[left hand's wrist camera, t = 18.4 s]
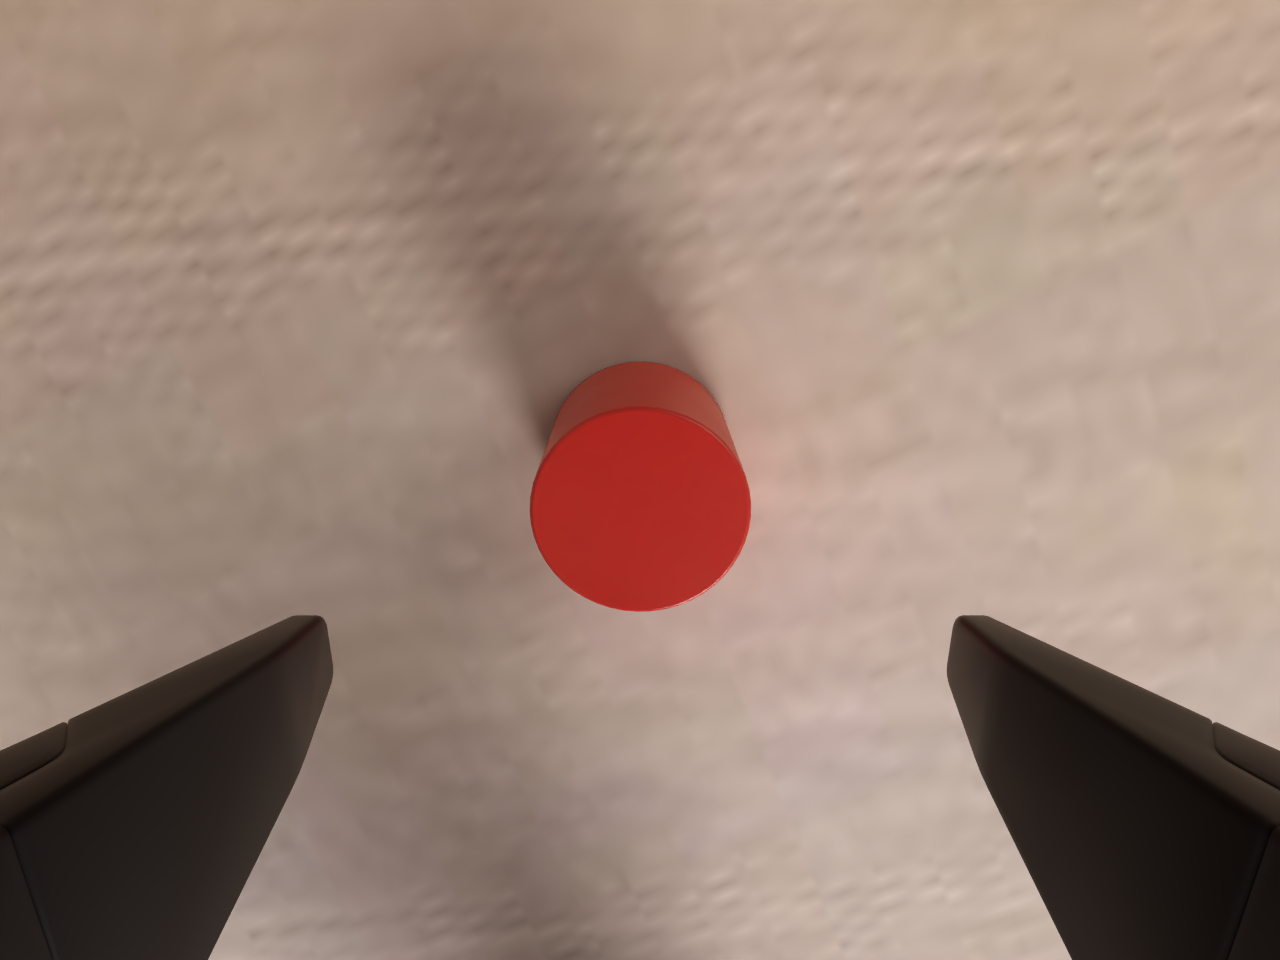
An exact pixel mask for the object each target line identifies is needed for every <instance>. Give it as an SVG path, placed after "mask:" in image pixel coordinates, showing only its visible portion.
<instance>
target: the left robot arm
mask: <svg viewBox="0 0 1280 960" xmlns="http://www.w3.org/2000/svg"><path fill="white" fill-rule="evenodd" d="M947 677H948V682H949V686H950V688H951V691H952V694H953V697H954V700H955V703H956V705H957V708H958V711H959V714H960V717H961V720H962V722H963V725H964V728H965V731H966V734H967V737H968V739H969V742H970V745H971V748H972V751H973V754H974V756H975V759H976V762H977V764H978V767H979V770H980V772H981V774H982V777H983V779H984V781H985V783H986V785H987V787H988V790H989V792H990V794H991V796H992V798H993V800H994V802H995V804H996V806H997V808H998V810H999V812H1000V814H1001V816H1002V818H1003V820H1004V822H1005V824H1006V826H1007V828H1008V830H1009V832H1010V834H1011V836H1012V838H1013V840H1014V842H1015V844H1016V846H1017V849H1018V851H1019V853H1020V855H1021V857H1022V859H1023V861H1024V863H1025V865H1026V867H1027V869H1028V871H1029V873H1030V875H1031V877H1032V879H1033V881H1034V883H1035V885H1036V887H1037V889H1038V891H1039V893H1040V895H1041V897H1042V899H1043V901H1044V903H1045V905H1046V908H1047V910H1048V912H1049V914H1050V916H1051V918H1052V920H1053V922H1054V924H1055V926H1056V928H1057V930H1058V932H1059V934H1060V936H1061V938H1062V940H1063V942H1064V944H1065V946H1066V948H1067V950H1068V952H1069V954H1070V956H1071V958H1072V960H1280V751H1279V750H1277V749H1275V748H1272V747H1270V746H1268V745H1266V744H1263V743H1261V742H1259V741H1257V740H1254V739H1252V738H1250V737H1248V736H1246V735H1243V734H1241V733H1239V732H1237V731H1235V730H1233V729H1230V728H1228V727H1226V726H1224V725H1222V724H1220V723H1217V722H1215V723H1213V724H1212V721H1211V720H1210V719H1209V718H1206V717H1204V716H1202V715H1200V714H1198V713H1196V712H1193V711H1191V710H1189V709H1187V708H1185V707H1183V706H1181V705H1178V704H1176V703H1174V702H1172V701H1170V700H1168V699H1165V698H1163V697H1161V696H1159V695H1157V694H1155V693H1152V692H1150V691H1148V690H1146V689H1144V688H1142V687H1140V686H1137V685H1135V684H1133V683H1131V682H1129V681H1127V680H1124V679H1122V678H1120V677H1118V676H1116V675H1114V674H1112V673H1109V672H1107V671H1105V670H1103V669H1101V668H1099V667H1096V666H1094V665H1092V664H1090V663H1088V662H1086V661H1083V660H1081V659H1079V658H1077V657H1075V656H1073V655H1071V654H1068V653H1066V652H1064V651H1062V650H1060V649H1058V648H1055V647H1053V646H1051V645H1049V644H1047V643H1045V642H1042V641H1040V640H1038V639H1036V638H1034V637H1032V636H1030V635H1027V634H1025V633H1023V632H1021V631H1019V630H1017V629H1014V628H1012V627H1010V626H1008V625H1006V624H1004V623H1001V622H999V621H997V620H995V619H993V618H991V617H988V616H983V615H963V616H959V617H958V618H957V619H956V620H955V622H954V625H953V630H952V637H951V643H950V650H949V656H948V663H947ZM332 678H333V663H332V656H331V650H330V643H329V637H328V630H327V625H326V622H325V620H324V619H323V618H322V617H321V616H317V615H297V616H292V617H289V618H287V619H285V620H283V621H281V622H279V623H276V624H274V625H272V626H270V627H268V628H266V629H263V630H261V631H259V632H257V633H255V634H253V635H250V636H248V637H246V638H244V639H242V640H240V641H238V642H235V643H233V644H231V645H229V646H227V647H225V648H222V649H220V650H218V651H216V652H214V653H212V654H209V655H207V656H205V657H203V658H201V659H199V660H197V661H194V662H192V663H190V664H188V665H186V666H184V667H181V668H179V669H177V670H175V671H173V672H171V673H168V674H166V675H164V676H162V677H160V678H158V679H156V680H153V681H151V682H149V683H147V684H145V685H143V686H140V687H138V688H136V689H134V690H132V691H130V692H128V693H125V694H123V695H121V696H119V697H117V698H115V699H112V700H110V701H108V702H106V703H104V704H102V705H99V706H97V707H95V708H93V709H91V710H89V711H87V712H84V713H82V714H80V715H78V716H76V717H74V718H71V719H70V720H69V721H68V724H67V723H65V722H63V723H60V724H58V725H56V726H54V727H52V728H50V729H47V730H45V731H43V732H41V733H39V734H37V735H34V736H32V737H30V738H28V739H26V740H23V741H21V742H19V743H17V744H14V745H12V746H10V747H8V748H5V749H3V750H1V751H0V960H208V958H209V956H210V954H211V952H212V950H213V948H214V946H215V944H216V942H217V940H218V938H219V936H220V934H221V932H222V930H223V928H224V926H225V924H226V922H227V920H228V918H229V916H230V914H231V912H232V910H233V908H234V905H235V903H236V901H237V899H238V897H239V895H240V893H241V891H242V889H243V887H244V885H245V883H246V881H247V879H248V877H249V875H250V873H251V871H252V869H253V867H254V865H255V863H256V861H257V859H258V857H259V855H260V853H261V851H262V849H263V846H264V844H265V842H266V840H267V838H268V836H269V834H270V832H271V830H272V828H273V826H274V824H275V822H276V820H277V818H278V816H279V814H280V812H281V810H282V808H283V806H284V804H285V802H286V800H287V798H288V796H289V794H290V792H291V790H292V787H293V785H294V783H295V781H296V779H297V777H298V774H299V772H300V770H301V767H302V764H303V762H304V759H305V757H306V754H307V751H308V748H309V745H310V742H311V739H312V737H313V734H314V731H315V728H316V725H317V722H318V720H319V717H320V714H321V711H322V708H323V705H324V703H325V700H326V697H327V694H328V691H329V688H330V686H331V682H332Z"/></svg>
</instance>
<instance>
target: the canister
mask: <svg viewBox="0 0 1280 960" xmlns="http://www.w3.org/2000/svg"><path fill="white" fill-rule="evenodd" d="M530 518H531V526H532V530H533V534H534V538H535V540H536V543H537V546H538V548H539V550H540V552H541V554H542V556H543V558H544V559H545V561H546V563H547V564H548V565H549V567H550V568H551V569H552V571H553V572H554V573H555V574H556V575H557V576H558V577H559V578H560V579H561V580H562V581H563V582H564V583H565V584H566V585H567V586H569V587H570V588H571V589H572V590H574V591H575V592H577V593H578V594H580V595H582V596H583V597H585V598H587V599H589V600H591V601H593V602H596V603H598V604H601V605H604V606H607V607H610V608H615V609H620V610H626V611H655V610H662V609H667V608H670V607H674V606H678V605H680V604H683V603H685V602H688V601H690V600H692V599H694V598H696V597H698V596H699V595H701V594H703V593H704V592H706V591H707V590H708V589H710V588H711V587H713V586H714V585H715V584H716V583H717V582H718V581H719V580H720V579H721V578H722V577H723V576H724V575H725V574H726V573H727V572H728V570H729V569H730V568H731V567H732V566H733V564H734V562H735V561H736V559H737V558H738V556H739V554H740V552H741V550H742V548H743V546H744V543H745V541H746V537H747V534H748V531H749V525H750V519H751V499H750V492H749V487H748V483H747V480H746V476H745V473H744V471H743V468H742V465H741V463H740V460H739V457H738V454H737V452H736V449H735V446H734V443H733V441H732V438H731V435H730V433H729V430H728V427H727V424H726V422H725V419H724V417H723V414H722V412H721V410H720V408H719V406H718V405H717V403H716V401H715V400H714V398H713V397H712V396H711V395H710V393H709V392H708V391H707V390H706V389H705V388H704V387H703V386H702V385H701V384H700V383H699V382H697V381H696V380H695V379H693V378H692V377H690V376H689V375H687V374H685V373H683V372H681V371H679V370H677V369H675V368H672V367H669V366H666V365H662V364H658V363H650V362H630V363H624V364H618V365H615V366H612V367H608V368H606V369H604V370H602V371H599V372H597V373H595V374H594V375H592V376H591V377H589V378H587V379H586V380H585V381H584V382H582V383H581V384H580V385H579V386H578V387H577V388H576V389H575V390H574V391H573V392H572V393H571V394H570V395H569V397H568V398H567V400H566V401H565V403H564V404H563V406H562V408H561V410H560V412H559V414H558V416H557V419H556V422H555V424H554V427H553V430H552V433H551V435H550V438H549V441H548V444H547V446H546V449H545V452H544V455H543V457H542V460H541V463H540V466H539V468H538V471H537V474H536V477H535V480H534V483H533V487H532V492H531V497H530Z"/></svg>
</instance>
